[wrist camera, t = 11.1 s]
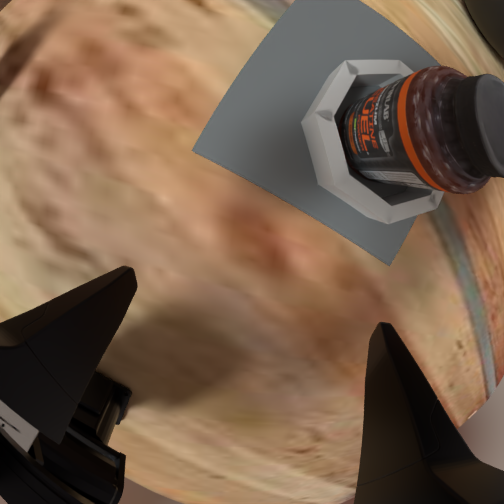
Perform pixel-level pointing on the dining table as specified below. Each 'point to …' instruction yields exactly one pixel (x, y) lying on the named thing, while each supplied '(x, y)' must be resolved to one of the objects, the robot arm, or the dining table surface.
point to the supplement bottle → (428, 131)
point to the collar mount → (319, 119)
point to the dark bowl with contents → (489, 21)
